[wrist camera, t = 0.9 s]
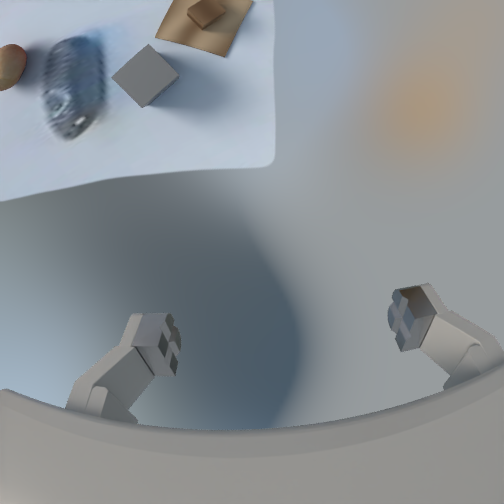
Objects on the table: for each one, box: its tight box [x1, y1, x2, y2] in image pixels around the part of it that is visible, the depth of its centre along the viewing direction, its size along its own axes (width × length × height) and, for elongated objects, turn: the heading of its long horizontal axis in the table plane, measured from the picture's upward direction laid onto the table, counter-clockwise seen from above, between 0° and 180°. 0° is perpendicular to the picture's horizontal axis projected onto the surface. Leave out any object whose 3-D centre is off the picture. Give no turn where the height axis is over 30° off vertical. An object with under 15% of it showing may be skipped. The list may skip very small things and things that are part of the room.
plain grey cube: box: [111, 44, 179, 108], centre depth 32 cm, size 7×7×8 cm
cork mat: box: [155, 0, 253, 57], centre depth 31 cm, size 12×12×1 cm
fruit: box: [0, 44, 27, 91], centre depth 22 cm, size 8×8×8 cm
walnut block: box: [187, 0, 226, 30], centre depth 29 cm, size 4×4×4 cm
